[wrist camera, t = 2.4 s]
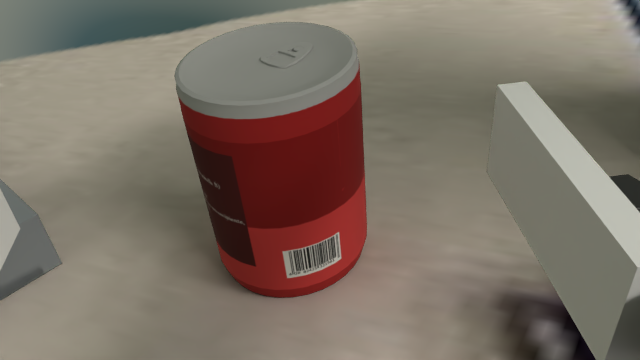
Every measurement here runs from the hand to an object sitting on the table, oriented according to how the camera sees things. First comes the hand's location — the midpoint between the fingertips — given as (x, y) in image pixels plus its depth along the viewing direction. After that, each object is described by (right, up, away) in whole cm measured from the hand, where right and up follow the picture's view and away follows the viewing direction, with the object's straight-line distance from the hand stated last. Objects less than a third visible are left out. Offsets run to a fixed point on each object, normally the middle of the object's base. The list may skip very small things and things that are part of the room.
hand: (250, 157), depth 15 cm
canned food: (+1, -4, +16) cm, 17 cm away
